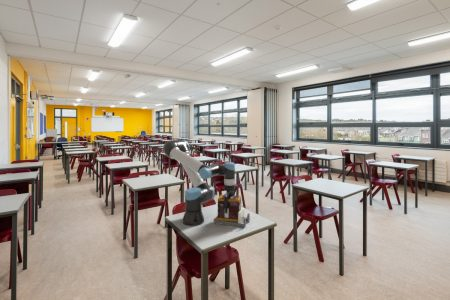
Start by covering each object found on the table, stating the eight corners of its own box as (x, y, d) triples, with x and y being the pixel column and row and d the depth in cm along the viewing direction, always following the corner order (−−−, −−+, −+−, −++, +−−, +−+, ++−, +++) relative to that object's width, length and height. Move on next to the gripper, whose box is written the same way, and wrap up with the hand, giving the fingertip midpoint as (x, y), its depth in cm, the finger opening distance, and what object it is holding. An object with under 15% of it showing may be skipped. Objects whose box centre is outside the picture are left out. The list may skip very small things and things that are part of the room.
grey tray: (213, 222, 172) (213, 214, 171) (220, 216, 184) (220, 208, 183) (244, 228, 163) (244, 219, 163) (249, 221, 175) (249, 213, 174)
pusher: (238, 225, 166) (238, 212, 165) (243, 219, 176) (243, 207, 175) (244, 226, 164) (244, 213, 163) (248, 220, 174) (249, 208, 173)
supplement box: (239, 221, 167) (239, 199, 165) (217, 219, 170) (217, 198, 169) (241, 216, 177) (241, 195, 176) (220, 214, 180) (220, 194, 179)
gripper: (228, 188, 159) (228, 221, 161) (239, 181, 181) (239, 209, 183) (218, 187, 162) (218, 219, 164) (230, 180, 184) (230, 208, 186)
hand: (229, 214), depth 173 cm, fingers open, 11 cm apart
